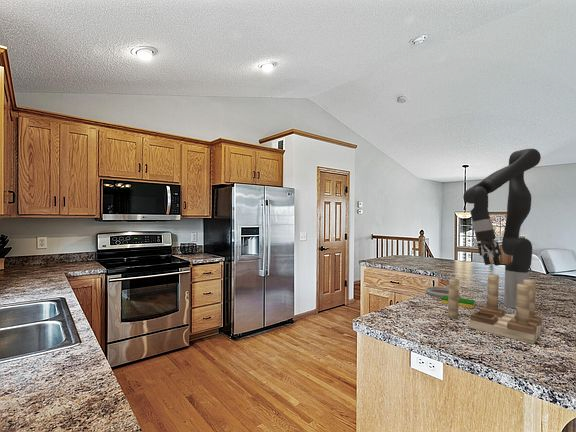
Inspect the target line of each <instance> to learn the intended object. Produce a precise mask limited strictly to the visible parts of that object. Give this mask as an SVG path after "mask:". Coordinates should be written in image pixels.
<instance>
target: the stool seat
mask: <svg viewBox="0 0 576 432" xmlns="http://www.w3.org/2000/svg"><path fill="white" fill-rule="evenodd" d="M499 279H500V275H499V274H493V273H488V274H487V290H486V291H487V293H486V296H487V297H486V300H487V301H486V304H483V305H482V306H480V307H479V310H475V311H474V312H472V313H471V314H470V315H469V317H470V318H469V321H468V322H469V323H468V328H469V329H474V330H478V331H482V332H484V333H485V332H486V333H490V334H493V335H498V336H502V337H505V338H509V339H513V340H518V341H521V342H526V343H529V344H533V345H534V344H535V343H536V341H537V339H538V337H539V336H540V334H541V333H542V331H543V330H544V329H543V328H544V323H543V322H544V321H543V316H542V315H538V314H536V313H535V312H536V288H537V287H536V284H537V282H536V280H535V279H529V278H528V279H523V284H517V299H516V309H515V314H509V313H506V308H502V307H499V291H500V290H499V289H500V288H499V286H500V285H499V284H500V280H499Z"/></svg>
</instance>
